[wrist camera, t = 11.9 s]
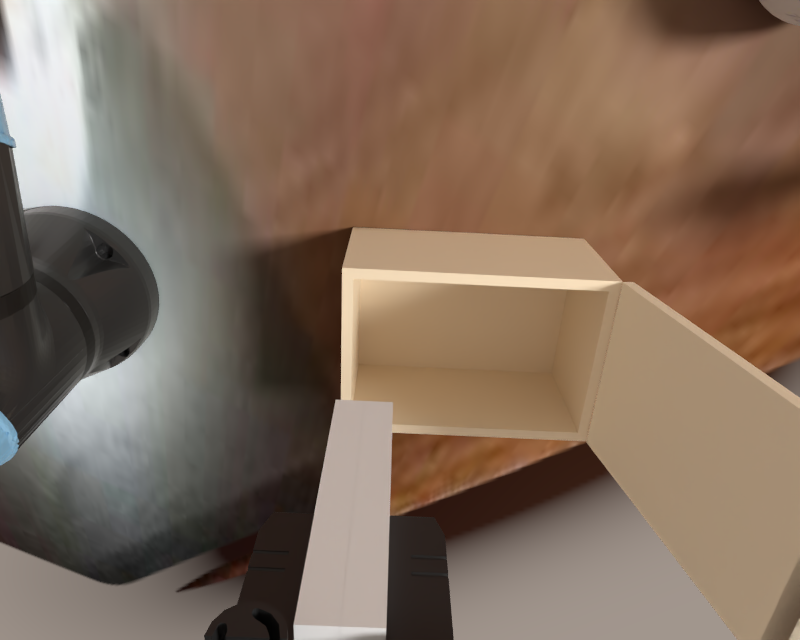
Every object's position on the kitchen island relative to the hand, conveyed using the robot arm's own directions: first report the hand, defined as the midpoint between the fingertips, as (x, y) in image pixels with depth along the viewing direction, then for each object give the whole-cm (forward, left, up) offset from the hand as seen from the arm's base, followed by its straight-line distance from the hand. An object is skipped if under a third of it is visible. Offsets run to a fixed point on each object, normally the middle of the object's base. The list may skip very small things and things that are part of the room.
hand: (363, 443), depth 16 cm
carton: (+7, -12, -36) cm, 39 cm away
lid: (+19, -12, -17) cm, 28 cm away
